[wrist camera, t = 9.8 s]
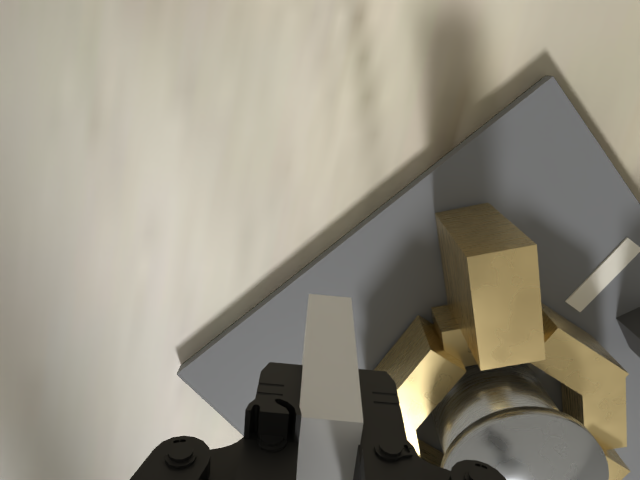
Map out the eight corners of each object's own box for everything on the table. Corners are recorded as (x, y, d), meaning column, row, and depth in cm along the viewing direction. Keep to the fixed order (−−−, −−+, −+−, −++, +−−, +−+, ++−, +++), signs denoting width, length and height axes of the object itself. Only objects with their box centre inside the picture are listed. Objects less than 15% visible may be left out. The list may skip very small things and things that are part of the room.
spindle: (567, 394, 34) (639, 493, 26) (464, 459, 36) (502, 570, 28) (496, 307, 32) (551, 386, 24) (390, 381, 34) (409, 476, 26)
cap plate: (773, 409, 34) (861, 478, 29) (434, 601, 41) (451, 688, 35) (545, 75, 28) (601, 79, 22) (180, 365, 34) (151, 426, 28)
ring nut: (603, 471, 35) (668, 567, 28) (391, 503, 36) (406, 602, 29) (592, 182, 28) (674, 218, 22) (335, 232, 29) (337, 281, 23)
